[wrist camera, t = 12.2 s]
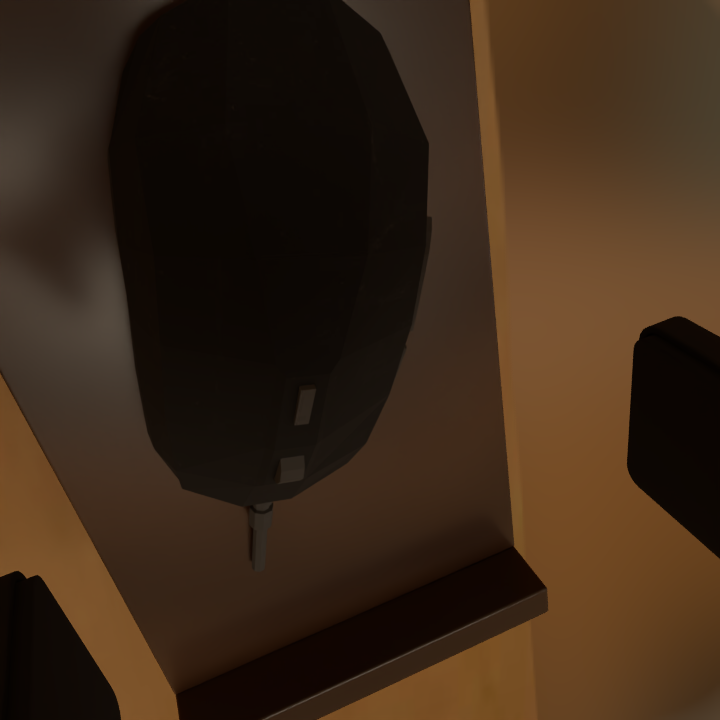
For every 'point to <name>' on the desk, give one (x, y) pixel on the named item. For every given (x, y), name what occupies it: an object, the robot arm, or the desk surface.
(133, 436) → the shelf
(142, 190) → the gaming mouse
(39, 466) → the desk surface
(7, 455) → the desk surface
